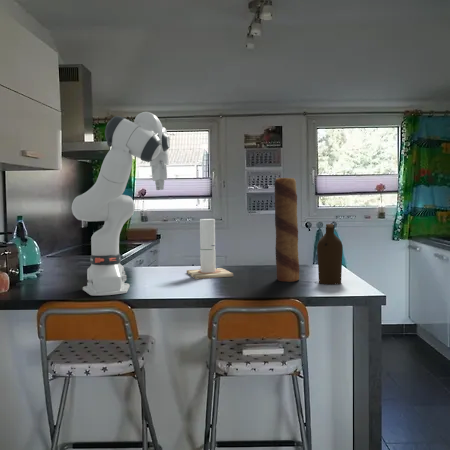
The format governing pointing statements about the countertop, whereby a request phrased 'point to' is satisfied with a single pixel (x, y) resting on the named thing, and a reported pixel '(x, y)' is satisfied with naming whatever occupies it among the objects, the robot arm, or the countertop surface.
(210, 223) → the cylindrical container
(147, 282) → the countertop surface
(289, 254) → the wafer roll
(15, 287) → the countertop surface
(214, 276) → the seat board
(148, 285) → the countertop surface
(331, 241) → the olive oil
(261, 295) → the countertop surface
